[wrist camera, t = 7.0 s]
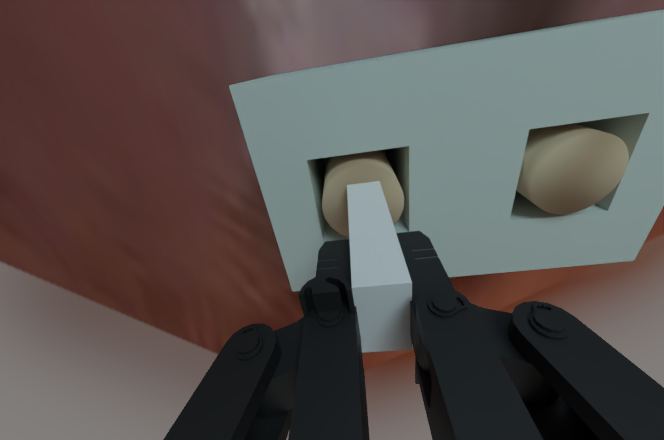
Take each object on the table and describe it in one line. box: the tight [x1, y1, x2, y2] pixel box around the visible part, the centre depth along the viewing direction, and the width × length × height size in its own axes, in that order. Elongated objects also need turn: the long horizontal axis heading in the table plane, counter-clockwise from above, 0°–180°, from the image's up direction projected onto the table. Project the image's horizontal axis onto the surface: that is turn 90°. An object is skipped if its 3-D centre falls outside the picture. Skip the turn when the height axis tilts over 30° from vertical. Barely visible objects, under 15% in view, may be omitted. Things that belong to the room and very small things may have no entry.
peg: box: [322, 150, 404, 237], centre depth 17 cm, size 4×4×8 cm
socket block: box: [229, 10, 664, 292], centre depth 17 cm, size 20×12×9 cm, turn 98°
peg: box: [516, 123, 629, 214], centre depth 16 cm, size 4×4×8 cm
